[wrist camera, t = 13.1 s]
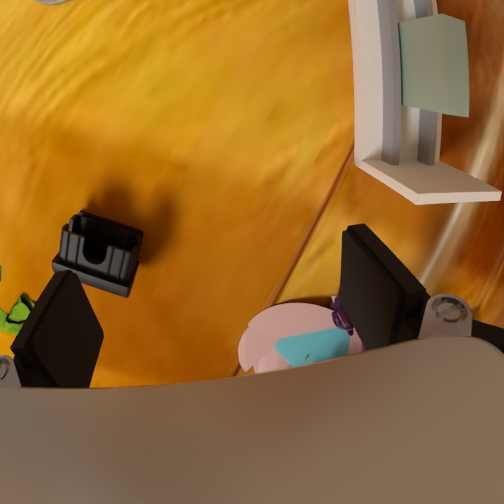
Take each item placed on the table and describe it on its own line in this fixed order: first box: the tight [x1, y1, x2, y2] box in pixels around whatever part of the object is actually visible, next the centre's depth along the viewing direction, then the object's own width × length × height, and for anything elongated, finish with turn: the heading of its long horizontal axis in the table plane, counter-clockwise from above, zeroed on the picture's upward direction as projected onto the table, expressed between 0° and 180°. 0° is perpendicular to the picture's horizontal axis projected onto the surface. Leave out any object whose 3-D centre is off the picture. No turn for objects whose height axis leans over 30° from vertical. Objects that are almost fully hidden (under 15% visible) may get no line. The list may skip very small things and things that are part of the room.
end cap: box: [52, 211, 143, 298], centre depth 35 cm, size 10×7×7 cm
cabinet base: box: [348, 0, 501, 205], centre depth 25 cm, size 26×12×14 cm, turn 4°
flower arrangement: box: [238, 295, 366, 373], centre depth 39 cm, size 35×24×28 cm
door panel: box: [398, 14, 469, 117], centre depth 25 cm, size 10×3×10 cm, turn 4°
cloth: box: [0, 266, 35, 335], centre depth 40 cm, size 20×22×2 cm
